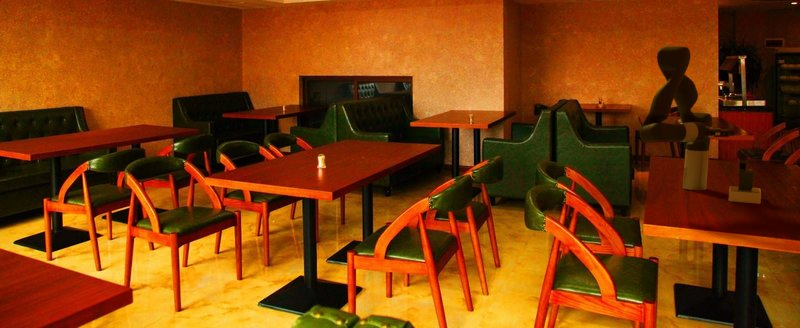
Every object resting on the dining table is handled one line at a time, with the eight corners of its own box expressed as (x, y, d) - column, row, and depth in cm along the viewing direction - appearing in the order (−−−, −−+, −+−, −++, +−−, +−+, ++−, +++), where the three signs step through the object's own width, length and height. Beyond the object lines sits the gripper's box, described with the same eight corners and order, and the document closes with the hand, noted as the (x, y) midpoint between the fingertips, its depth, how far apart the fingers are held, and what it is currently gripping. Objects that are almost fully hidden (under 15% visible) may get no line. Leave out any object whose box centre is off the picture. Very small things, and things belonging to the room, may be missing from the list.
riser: (728, 200, 249) (729, 190, 248) (728, 195, 259) (729, 185, 258) (760, 203, 244) (761, 193, 243) (759, 198, 253) (760, 188, 253)
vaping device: (738, 188, 253) (740, 158, 251) (752, 189, 250) (755, 160, 248) (736, 189, 251) (739, 159, 249) (751, 190, 248) (754, 160, 246)
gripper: (704, 124, 234) (741, 123, 237) (679, 120, 247) (714, 120, 251) (702, 144, 235) (739, 143, 239) (677, 139, 248) (712, 138, 252)
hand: (726, 131), depth 245 cm, fingers open, 8 cm apart
